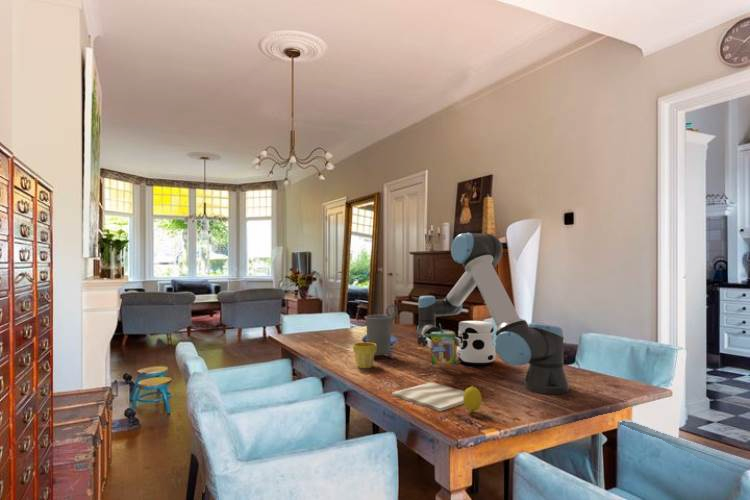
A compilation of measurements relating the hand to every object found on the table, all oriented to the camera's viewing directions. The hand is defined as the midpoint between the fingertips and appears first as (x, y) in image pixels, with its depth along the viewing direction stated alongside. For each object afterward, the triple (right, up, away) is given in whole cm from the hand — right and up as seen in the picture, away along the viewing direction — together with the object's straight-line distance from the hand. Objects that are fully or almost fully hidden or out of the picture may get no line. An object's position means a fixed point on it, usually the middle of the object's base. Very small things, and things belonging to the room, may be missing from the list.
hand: (445, 343), depth 173 cm
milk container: (+19, -16, +35) cm, 43 cm away
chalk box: (0, -8, +3) cm, 9 cm away
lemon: (+4, -15, -31) cm, 35 cm away
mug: (-24, -16, +48) cm, 56 cm away
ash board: (-6, -15, -16) cm, 23 cm away
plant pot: (-31, -16, +28) cm, 45 cm away
